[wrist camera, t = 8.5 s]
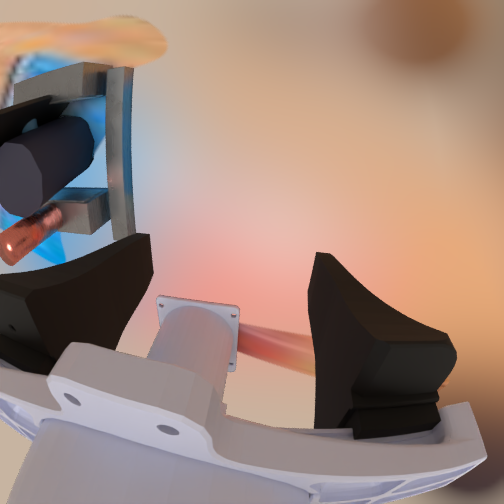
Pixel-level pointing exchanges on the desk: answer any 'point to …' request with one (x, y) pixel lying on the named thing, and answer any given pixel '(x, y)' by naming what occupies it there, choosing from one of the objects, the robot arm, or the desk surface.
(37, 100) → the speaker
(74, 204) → the jaw slide
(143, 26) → the desk surface
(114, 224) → the vise body
